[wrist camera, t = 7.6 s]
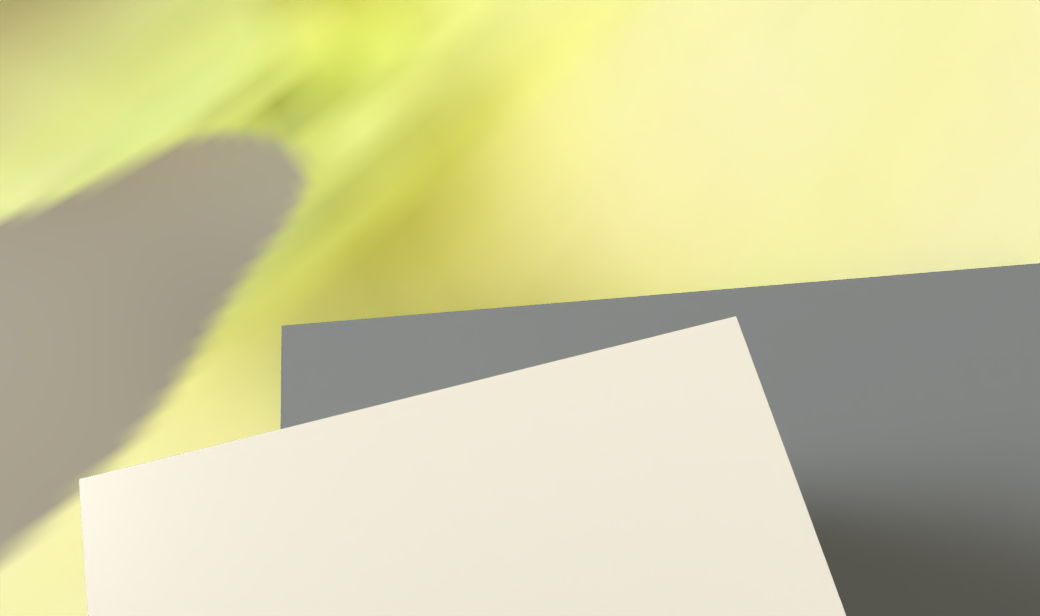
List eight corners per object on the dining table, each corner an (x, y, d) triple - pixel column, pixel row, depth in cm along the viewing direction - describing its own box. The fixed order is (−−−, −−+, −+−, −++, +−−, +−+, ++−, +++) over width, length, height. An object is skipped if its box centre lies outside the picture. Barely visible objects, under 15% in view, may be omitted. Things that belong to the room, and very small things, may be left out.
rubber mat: (1033, 269, 20) (1049, 262, 19) (1223, 819, 16) (1251, 831, 15) (288, 331, 18) (281, 326, 18) (284, 949, 14) (275, 968, 14)
